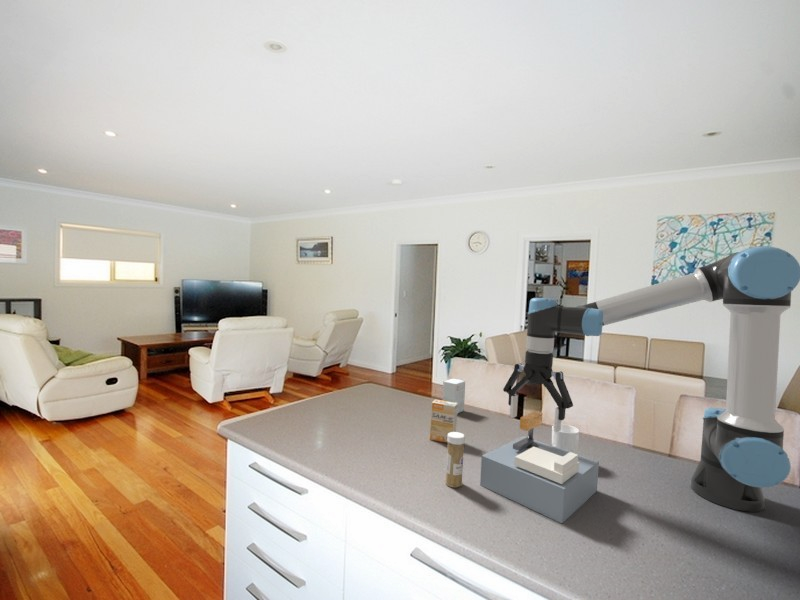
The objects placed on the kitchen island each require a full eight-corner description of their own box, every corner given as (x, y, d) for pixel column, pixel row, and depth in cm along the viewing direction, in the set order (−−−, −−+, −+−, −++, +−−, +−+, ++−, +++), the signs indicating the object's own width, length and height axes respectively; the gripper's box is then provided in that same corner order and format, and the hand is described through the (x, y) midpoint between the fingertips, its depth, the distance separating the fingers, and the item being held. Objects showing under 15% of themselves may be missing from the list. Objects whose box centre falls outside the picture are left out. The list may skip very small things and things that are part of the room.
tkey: (540, 440, 115) (542, 413, 114) (519, 451, 106) (521, 422, 105) (533, 437, 116) (535, 411, 116) (512, 448, 107) (514, 420, 107)
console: (596, 490, 104) (598, 459, 104) (562, 523, 88) (564, 487, 88) (521, 461, 120) (522, 434, 119) (480, 485, 104) (481, 454, 104)
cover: (578, 471, 97) (579, 454, 96) (561, 484, 90) (562, 466, 89) (533, 454, 105) (534, 439, 105) (514, 465, 98) (515, 448, 98)
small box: (451, 407, 170) (453, 378, 170) (464, 410, 166) (465, 380, 166) (441, 411, 164) (443, 381, 163) (454, 415, 160) (456, 384, 159)
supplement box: (429, 440, 133) (431, 402, 133) (433, 435, 138) (435, 398, 137) (452, 444, 130) (454, 406, 130) (456, 439, 135) (458, 402, 134)
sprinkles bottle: (460, 489, 101) (463, 438, 101) (443, 486, 103) (446, 436, 102) (463, 481, 106) (465, 432, 105) (446, 478, 107) (449, 430, 107)
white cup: (580, 467, 118) (582, 434, 117) (552, 463, 119) (554, 431, 119) (573, 456, 125) (575, 425, 125) (548, 453, 127) (549, 422, 126)
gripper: (589, 357, 107) (583, 433, 108) (507, 343, 124) (503, 409, 125) (578, 360, 101) (572, 440, 102) (494, 345, 119) (490, 414, 120)
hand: (534, 423), depth 114 cm, fingers open, 13 cm apart
